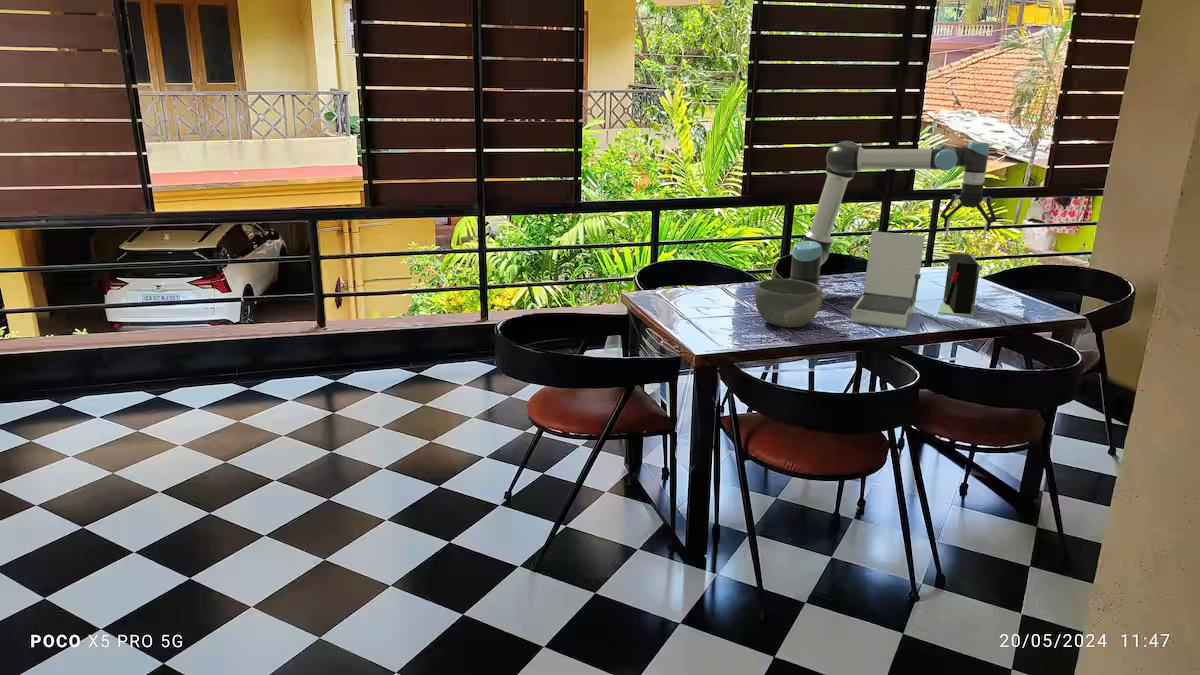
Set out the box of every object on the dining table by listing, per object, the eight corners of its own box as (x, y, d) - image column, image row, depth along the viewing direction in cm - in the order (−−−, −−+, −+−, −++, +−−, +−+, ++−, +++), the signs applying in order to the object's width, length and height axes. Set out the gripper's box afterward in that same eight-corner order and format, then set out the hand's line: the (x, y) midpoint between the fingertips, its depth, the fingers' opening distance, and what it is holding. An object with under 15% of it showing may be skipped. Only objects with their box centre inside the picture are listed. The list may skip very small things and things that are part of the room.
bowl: (821, 336, 304) (825, 296, 299) (753, 332, 308) (755, 292, 303) (817, 317, 327) (820, 279, 322) (753, 313, 331) (756, 276, 326)
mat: (937, 313, 333) (937, 311, 332) (942, 300, 350) (942, 299, 350) (973, 317, 327) (973, 316, 327) (976, 304, 345) (976, 303, 345)
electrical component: (976, 314, 329) (983, 264, 323) (948, 312, 331) (955, 262, 325) (967, 302, 346) (974, 254, 339) (941, 300, 348) (948, 253, 342)
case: (850, 321, 321) (858, 244, 311) (864, 302, 347) (872, 230, 338) (906, 329, 312) (916, 250, 303) (917, 308, 338) (926, 235, 329)
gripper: (937, 181, 326) (930, 236, 333) (1008, 186, 316) (999, 242, 322) (939, 179, 332) (932, 232, 339) (1009, 184, 322) (1000, 239, 329)
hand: (965, 237), depth 331 cm, fingers open, 13 cm apart
